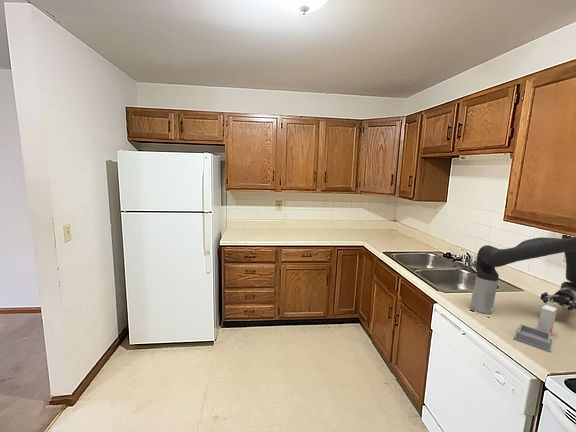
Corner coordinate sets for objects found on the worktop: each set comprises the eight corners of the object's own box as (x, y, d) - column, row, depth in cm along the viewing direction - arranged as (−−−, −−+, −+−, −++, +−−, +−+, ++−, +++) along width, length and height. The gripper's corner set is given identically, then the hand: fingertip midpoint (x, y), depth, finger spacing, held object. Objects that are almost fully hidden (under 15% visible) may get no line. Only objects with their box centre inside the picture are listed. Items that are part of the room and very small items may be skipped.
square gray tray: (513, 339, 128) (514, 332, 127) (517, 329, 136) (518, 322, 136) (550, 352, 120) (552, 344, 119) (552, 340, 128) (553, 333, 128)
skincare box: (548, 337, 131) (553, 311, 129) (535, 332, 134) (541, 307, 132) (552, 333, 135) (557, 308, 133) (540, 328, 138) (545, 304, 136)
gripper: (548, 284, 154) (538, 291, 144) (587, 294, 142) (579, 303, 133) (546, 298, 155) (536, 306, 145) (584, 309, 144) (575, 318, 134)
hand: (556, 304), depth 139 cm, fingers open, 8 cm apart
